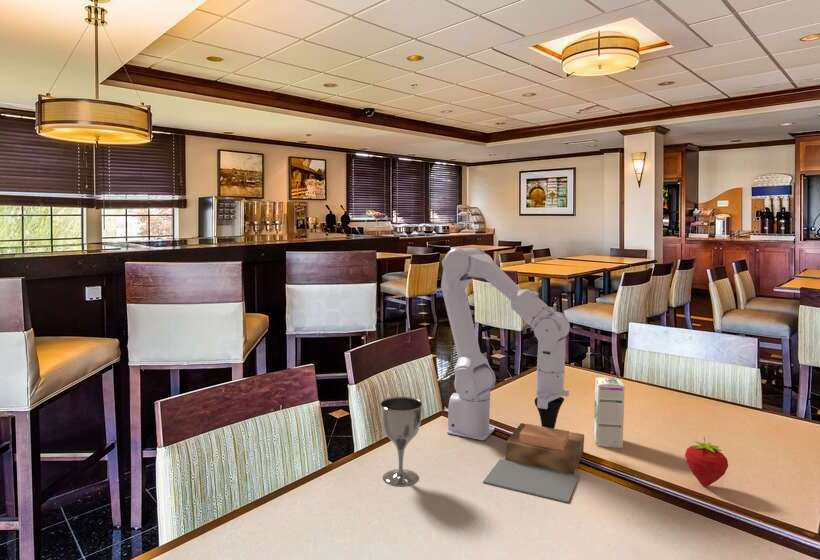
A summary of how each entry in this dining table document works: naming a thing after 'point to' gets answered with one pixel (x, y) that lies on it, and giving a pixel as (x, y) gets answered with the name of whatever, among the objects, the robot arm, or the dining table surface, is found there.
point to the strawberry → (706, 462)
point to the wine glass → (401, 434)
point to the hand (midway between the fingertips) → (548, 430)
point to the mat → (532, 480)
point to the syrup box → (609, 412)
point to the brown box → (546, 453)
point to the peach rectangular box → (544, 437)
